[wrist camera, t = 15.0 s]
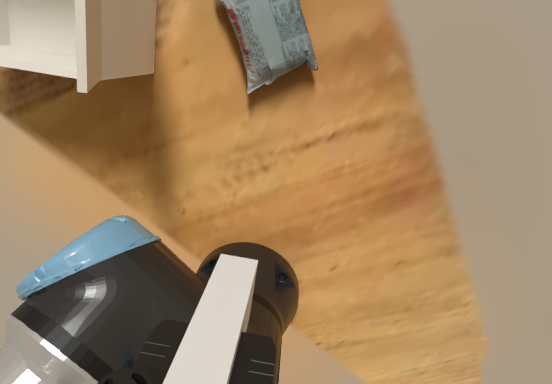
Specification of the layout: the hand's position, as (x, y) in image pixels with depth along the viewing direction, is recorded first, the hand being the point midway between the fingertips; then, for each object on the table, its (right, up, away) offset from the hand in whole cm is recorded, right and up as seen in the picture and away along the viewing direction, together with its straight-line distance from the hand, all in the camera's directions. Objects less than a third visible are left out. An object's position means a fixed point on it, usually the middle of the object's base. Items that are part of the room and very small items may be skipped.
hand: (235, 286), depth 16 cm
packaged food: (+1, +22, +29) cm, 37 cm away
